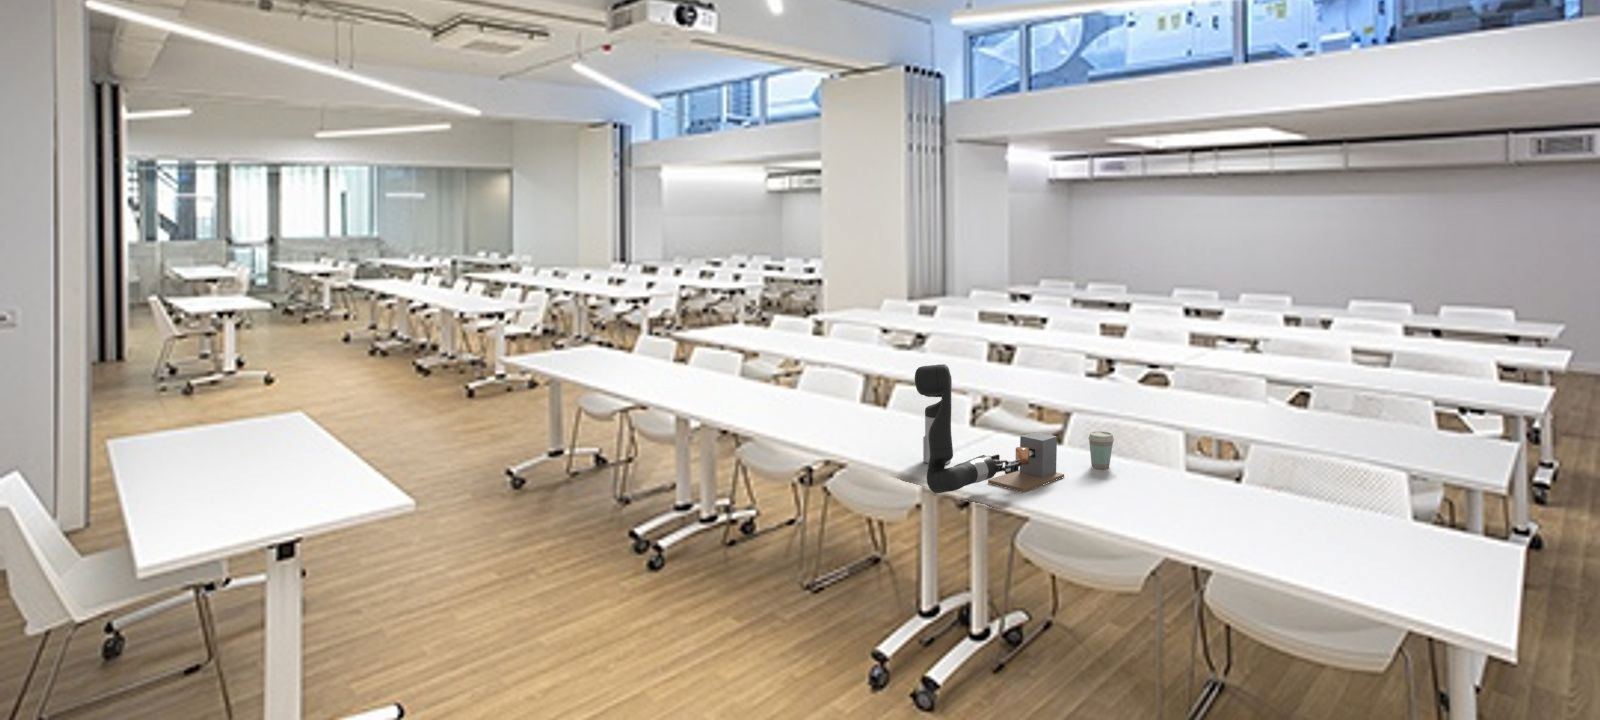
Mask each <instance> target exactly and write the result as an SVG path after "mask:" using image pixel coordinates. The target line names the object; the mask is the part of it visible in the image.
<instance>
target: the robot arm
mask: <svg viewBox="0 0 1600 720" xmlns="http://www.w3.org/2000/svg"><path fill="white" fill-rule="evenodd" d="M914 373H915V374H914V386H915V389H916V391H917V392H918V395H919V394H920V395H921V396H924V397H927V398H941V399H940V401H938V402H936V403H933V404H930V405H927V406H926V407H925V409H924V436H923V439H922V444H923V449H922V450H923V455H922V456H923V458H922V459H923V463H925V464H928V466H927V472H926V483H927V486H928V489H929V490H930V492H932V493H934V494H942V493H947V492H948V493H950V492H955V491H957V490H961V489H962V488H964V487H966V486H969V485H971V484H972V485H973V484H977V483H981V482H983V481H988V480H989V479H992V478H995V476H996V473H1000V472H1004V474H1009V473H1012V472H1016V471H1018V470H1019V469H1020V466H1021V460H1020V459H1018V460H1016V459H1015V460H1007V459H1000V454H994V455H985V454H983V455H979V456H976V457H974V458H972V459H968V460H967V461H964V462H960V463H957V464H955V465H954V466H952V467H945V466H946V465H949V464H950V463H951V460H952V459H953V458H954V450H953V449H954V448H953V440H952V381H953V380H952V379H953V378H952V374H951V371H950V368H949V366H948V365H947V364H943V363H942V364H934V365H933V364H931V365H923V366H920V367H917V369H916V370H915V372H914ZM1003 463H1004V464H1003Z"/></svg>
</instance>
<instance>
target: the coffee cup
mask: <svg viewBox="0 0 1600 720" xmlns="http://www.w3.org/2000/svg"><path fill="white" fill-rule="evenodd" d="M1088 441H1089V452H1090V463H1091V465H1090V466H1091V468H1092V467H1093V469H1095V468H1097V469H1096V470H1108V469H1110V464H1111V457H1112V450H1113V443H1114V441H1115V437H1114V435H1113V433H1111V432H1110V431H1109V432H1108V431H1102V430H1101V431H1091V432H1090V433H1089V436H1088Z"/></svg>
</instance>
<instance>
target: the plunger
mask: <svg viewBox="0 0 1600 720" xmlns="http://www.w3.org/2000/svg"><path fill="white" fill-rule="evenodd" d="M1033 455H1035V449H1032V450H1029V448H1027V447H1020V446H1018V447H1015V460H1018V459H1020V460H1021V465H1027V464H1029V457H1030V456H1033Z"/></svg>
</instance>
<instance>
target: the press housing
mask: <svg viewBox="0 0 1600 720" xmlns="http://www.w3.org/2000/svg"><path fill="white" fill-rule="evenodd" d="M1019 437H1020V438H1019V447H1027V448H1029V450H1032V449H1035V455H1033V456H1030V457H1029V464H1027V465H1021V466H1019V470H1018V471H1016V472H1012V473H1009V474H1005V473H1004V474H1000V475H999V476H994V477H992V478H990V479H987V484H988V485H993V484H994V486H997V485H998V486H997V487H1001V486H1002V487H1001V488H1004V487H1006V488H1005V489H1008V488H1010V489H1009V490H1012V489H1013V491H1016V490H1017V491H1016V492H1020V491H1021V493H1026V492H1028V490H1029V491H1031V490H1033V488H1034V489H1037V488H1039V486H1040V487H1042V486H1044V485H1043V484H1045V485H1047V484H1046V483H1048V482H1051V481H1053V482H1055V481H1054V480H1056V479H1059V478H1062V477H1064V478H1065V473H1061V472H1057V455H1058V454H1057V453H1058V451H1057V450H1058V449H1057V447H1058V436H1056V435H1051V434H1046V433H1041V432H1036V431H1034V432H1030V433H1026V434H1023V435H1020V436H1019ZM1062 479H1063V478H1062ZM1059 480H1060V479H1059ZM1056 481H1057V480H1056ZM1051 483H1052V482H1051ZM1048 484H1049V483H1048ZM1041 485H1042V486H1041ZM1036 487H1037V488H1036ZM1025 491H1026V492H1025Z"/></svg>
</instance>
